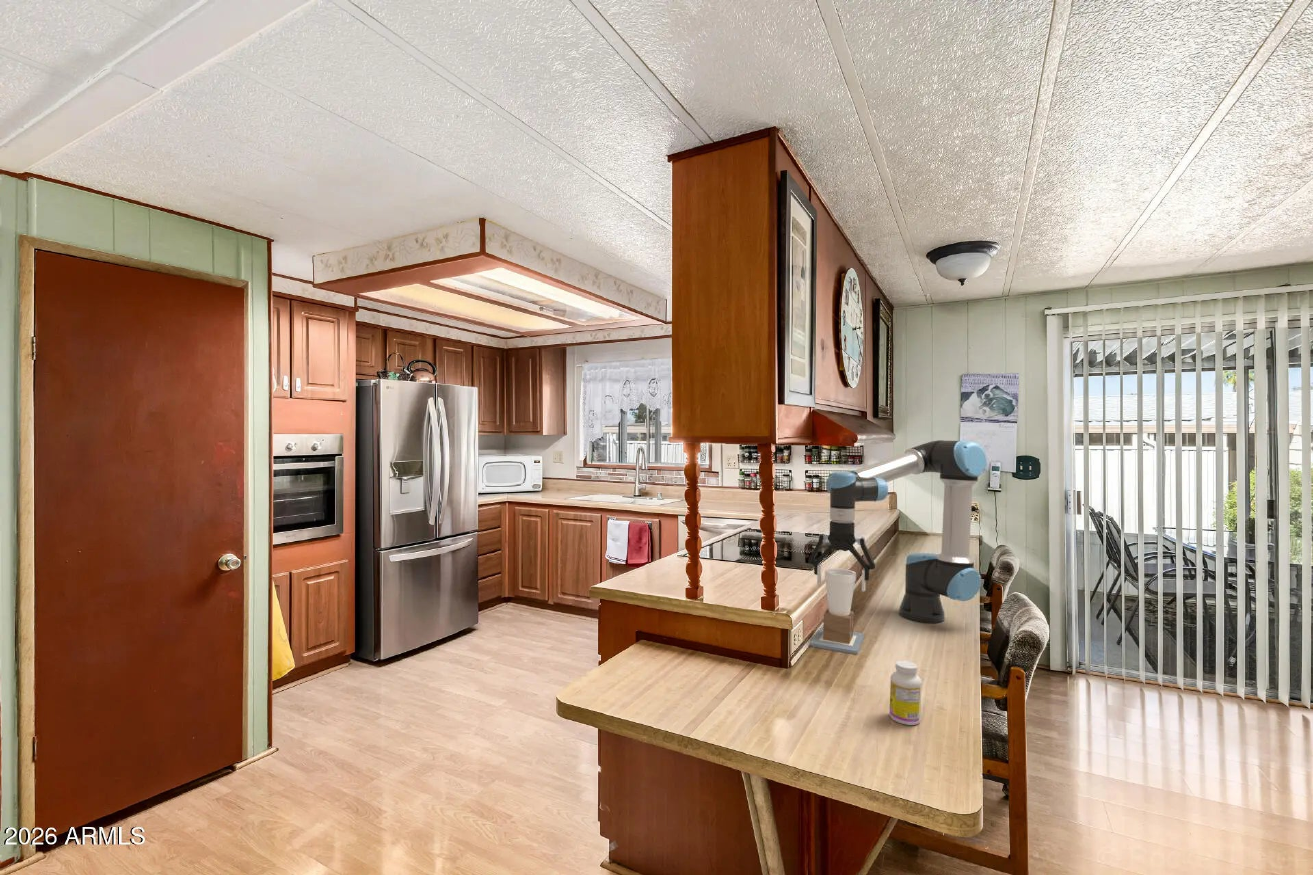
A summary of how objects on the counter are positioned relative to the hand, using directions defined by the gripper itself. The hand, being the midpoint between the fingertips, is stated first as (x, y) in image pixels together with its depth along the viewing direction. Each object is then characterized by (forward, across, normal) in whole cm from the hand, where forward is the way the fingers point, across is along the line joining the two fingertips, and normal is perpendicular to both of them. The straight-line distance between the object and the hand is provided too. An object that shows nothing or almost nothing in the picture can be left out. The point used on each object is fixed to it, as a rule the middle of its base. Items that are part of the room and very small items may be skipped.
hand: (840, 587), depth 189 cm
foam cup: (+8, 0, 0) cm, 8 cm away
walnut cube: (+16, -1, -1) cm, 16 cm away
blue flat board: (+17, 0, -1) cm, 17 cm away
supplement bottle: (+17, +22, -47) cm, 54 cm away
